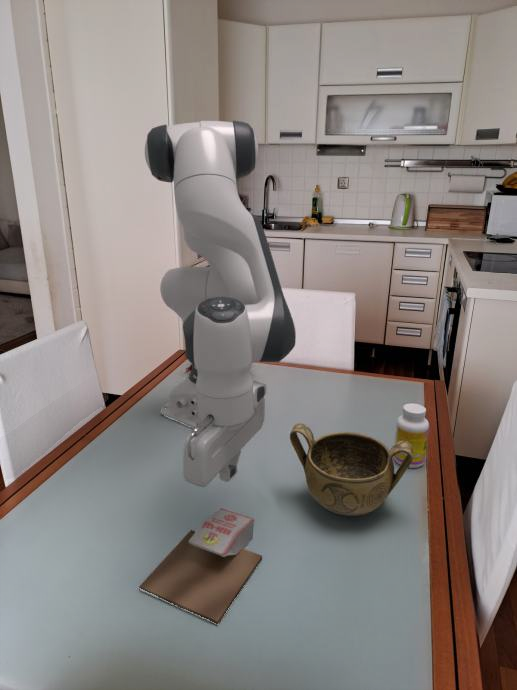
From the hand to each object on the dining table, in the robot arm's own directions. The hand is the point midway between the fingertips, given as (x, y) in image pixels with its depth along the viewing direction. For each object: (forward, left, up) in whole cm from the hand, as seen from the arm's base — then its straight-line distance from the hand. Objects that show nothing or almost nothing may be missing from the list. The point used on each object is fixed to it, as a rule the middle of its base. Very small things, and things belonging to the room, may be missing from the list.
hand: (228, 476), depth 82 cm
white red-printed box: (0, +2, -11) cm, 11 cm away
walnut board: (0, -9, -13) cm, 16 cm away
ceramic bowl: (+15, +18, -13) cm, 27 cm away
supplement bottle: (+23, +38, -13) cm, 47 cm away
